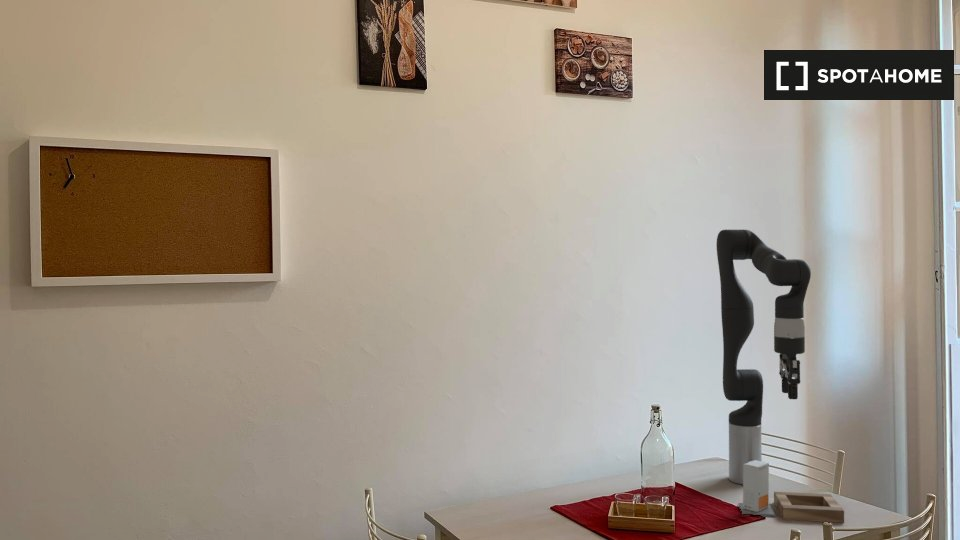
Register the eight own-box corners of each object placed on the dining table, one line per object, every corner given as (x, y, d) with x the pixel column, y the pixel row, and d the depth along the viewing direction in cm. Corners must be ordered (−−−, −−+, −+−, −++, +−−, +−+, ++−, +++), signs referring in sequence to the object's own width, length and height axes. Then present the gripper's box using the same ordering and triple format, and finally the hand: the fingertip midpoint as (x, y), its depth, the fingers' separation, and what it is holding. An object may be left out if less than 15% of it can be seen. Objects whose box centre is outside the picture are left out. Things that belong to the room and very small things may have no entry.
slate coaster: (738, 505, 207) (738, 502, 207) (769, 506, 206) (769, 504, 206) (742, 515, 200) (742, 512, 200) (775, 516, 198) (775, 514, 198)
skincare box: (757, 512, 199) (757, 467, 199) (742, 508, 202) (742, 463, 202) (769, 507, 203) (769, 462, 203) (754, 503, 206) (754, 459, 206)
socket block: (774, 502, 209) (773, 491, 209) (830, 505, 206) (830, 494, 206) (783, 519, 196) (783, 507, 196) (844, 522, 193) (844, 510, 193)
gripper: (769, 331, 211) (769, 390, 211) (779, 337, 197) (779, 400, 197) (798, 332, 209) (798, 391, 209) (810, 338, 195) (810, 401, 196)
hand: (789, 395), depth 203 cm, fingers open, 8 cm apart
